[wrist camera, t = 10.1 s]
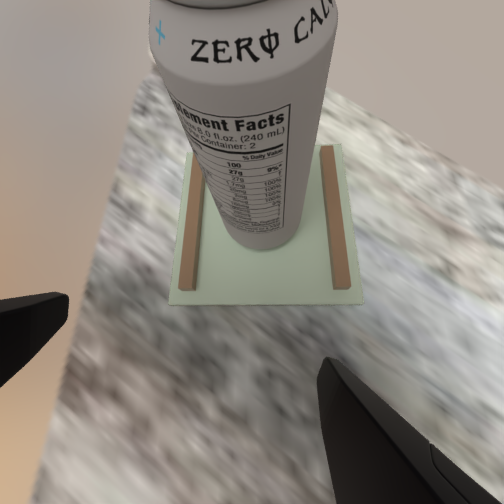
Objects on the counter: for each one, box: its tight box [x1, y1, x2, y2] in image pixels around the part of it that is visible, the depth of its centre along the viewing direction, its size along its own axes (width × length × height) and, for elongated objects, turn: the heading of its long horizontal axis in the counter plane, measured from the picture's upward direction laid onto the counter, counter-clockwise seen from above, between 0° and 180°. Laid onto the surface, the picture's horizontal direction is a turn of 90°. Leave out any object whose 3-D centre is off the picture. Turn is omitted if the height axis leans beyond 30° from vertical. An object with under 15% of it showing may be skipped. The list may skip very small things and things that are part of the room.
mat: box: [168, 144, 364, 306], centre depth 20 cm, size 14×14×2 cm
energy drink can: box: [149, 0, 338, 249], centre depth 13 cm, size 6×6×15 cm
